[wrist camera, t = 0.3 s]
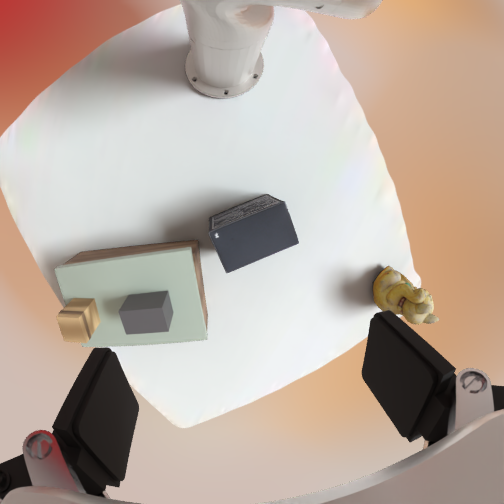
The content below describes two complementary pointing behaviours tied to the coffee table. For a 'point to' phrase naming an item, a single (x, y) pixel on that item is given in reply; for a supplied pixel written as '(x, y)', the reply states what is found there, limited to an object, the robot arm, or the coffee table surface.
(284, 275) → the coffee table surface
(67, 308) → the wooden block
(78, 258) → the open brown wooden box
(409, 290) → the decorative figurine
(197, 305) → the lid
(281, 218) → the small box
